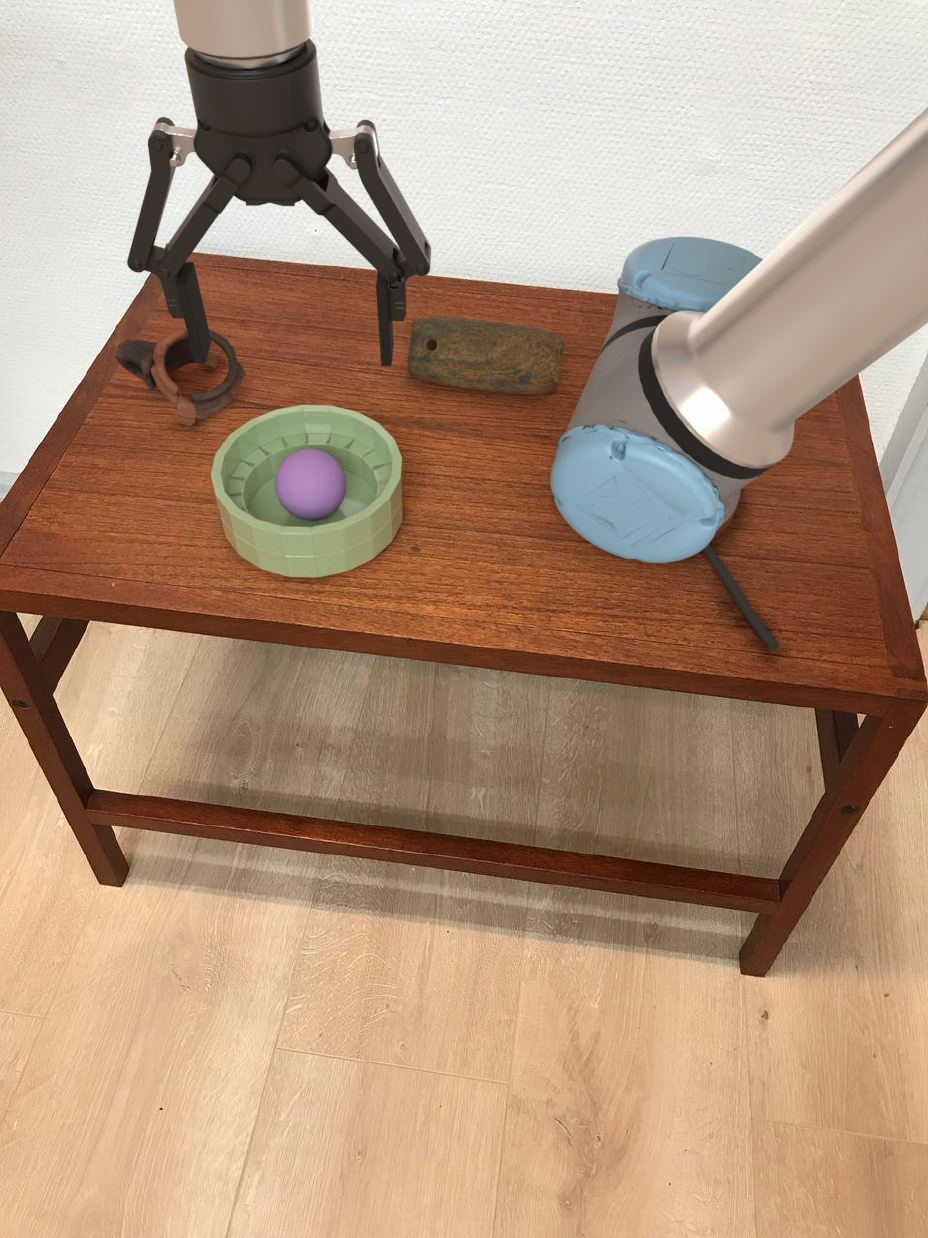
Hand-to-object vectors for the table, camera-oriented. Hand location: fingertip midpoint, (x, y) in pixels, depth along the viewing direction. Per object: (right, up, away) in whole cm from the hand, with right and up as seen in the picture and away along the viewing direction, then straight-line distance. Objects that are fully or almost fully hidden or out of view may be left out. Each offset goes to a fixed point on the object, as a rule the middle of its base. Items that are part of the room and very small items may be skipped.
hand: (295, 354), depth 72 cm
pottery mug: (-14, +2, +23) cm, 28 cm away
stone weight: (+15, +4, +26) cm, 30 cm away
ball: (0, -8, +10) cm, 13 cm away
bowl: (-1, -11, +13) cm, 17 cm away
